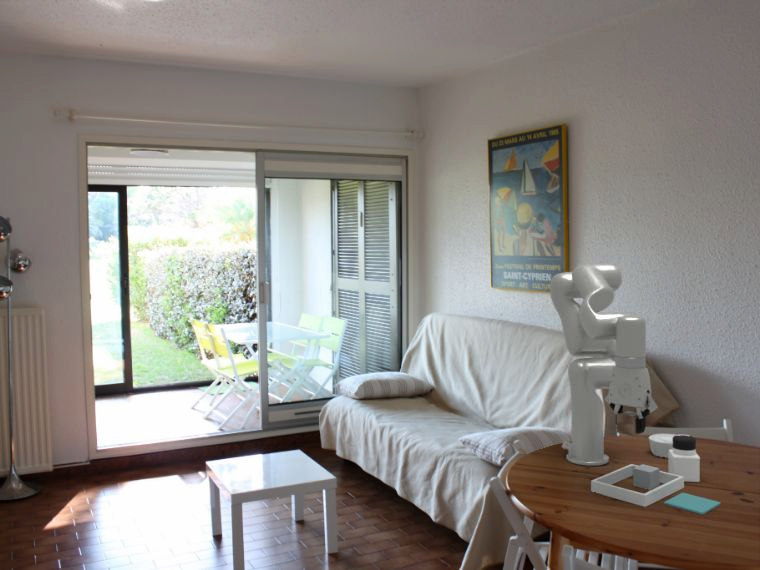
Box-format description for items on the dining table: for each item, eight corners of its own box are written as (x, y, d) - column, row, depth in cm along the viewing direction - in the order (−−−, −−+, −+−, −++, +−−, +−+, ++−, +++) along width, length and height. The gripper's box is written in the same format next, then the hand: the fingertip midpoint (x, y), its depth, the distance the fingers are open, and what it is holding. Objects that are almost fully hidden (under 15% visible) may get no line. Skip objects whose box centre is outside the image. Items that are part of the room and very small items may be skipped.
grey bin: (591, 491, 193) (591, 480, 193) (631, 474, 206) (631, 464, 206) (645, 507, 181) (645, 495, 181) (684, 487, 195) (684, 476, 194)
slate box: (633, 486, 197) (633, 468, 197) (642, 481, 200) (642, 464, 200) (650, 490, 193) (650, 472, 193) (659, 486, 197) (659, 468, 196)
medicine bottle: (700, 482, 198) (700, 440, 198) (673, 481, 200) (673, 439, 199) (694, 474, 205) (694, 433, 205) (668, 473, 207) (668, 432, 206)
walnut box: (616, 432, 190) (616, 413, 190) (626, 428, 193) (626, 410, 193) (633, 436, 186) (634, 417, 186) (643, 432, 189) (643, 413, 189)
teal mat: (663, 504, 183) (663, 502, 183) (682, 494, 190) (682, 492, 190) (702, 514, 175) (702, 512, 175) (720, 504, 182) (720, 502, 182)
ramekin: (643, 455, 224) (643, 439, 224) (656, 447, 233) (656, 431, 232) (680, 462, 217) (680, 445, 217) (691, 453, 226) (692, 437, 225)
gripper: (594, 360, 193) (594, 427, 194) (653, 368, 180) (653, 439, 181) (609, 357, 198) (609, 422, 199) (668, 364, 185) (668, 434, 186)
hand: (630, 429), depth 190 cm, fingers closed on walnut box, 5 cm apart
